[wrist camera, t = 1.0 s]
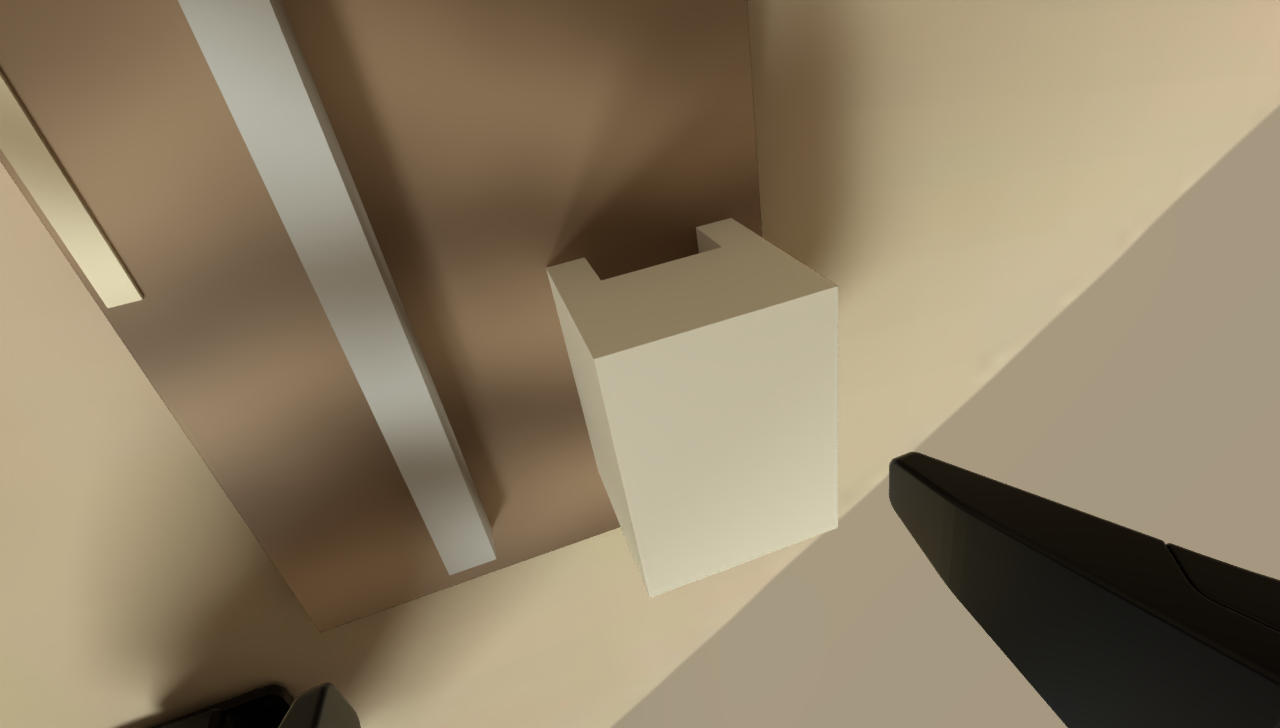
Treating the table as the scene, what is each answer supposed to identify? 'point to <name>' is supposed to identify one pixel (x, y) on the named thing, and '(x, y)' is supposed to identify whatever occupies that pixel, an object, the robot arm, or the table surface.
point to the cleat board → (451, 219)
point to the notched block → (708, 400)
